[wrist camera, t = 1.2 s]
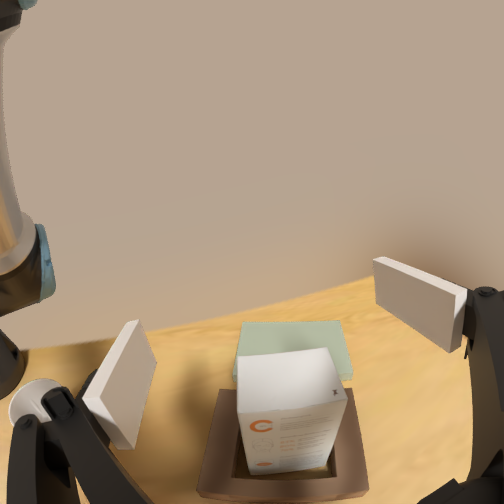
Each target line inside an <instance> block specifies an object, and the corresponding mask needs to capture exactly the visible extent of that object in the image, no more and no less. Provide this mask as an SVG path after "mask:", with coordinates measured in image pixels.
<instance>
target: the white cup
mask: <svg viewBox="0 0 504 504" xmlns="http://www.w3.org/2000/svg"><path fill="white" fill-rule="evenodd" d="M56 387H61V385H60V384H59V383H58V382H56V381H54V380H51V379H36V380H33V381H30V382H28V383H26V384H25V385H23V386H22V387H21V388H20V389H19V390H18V391H17V392H16V393H15V394H14V396H13V398H12V400H11V402H10V405H9V418H10V421H11V423H12V425H13V426H14V425H15V423H16V421H17V420H18V419H19V418H21V416H23V415H26V414H35V415H36V416H37V418H38V419H39V420H40V422H41V423H43V422H48V421H52V420H51V418H50V417H49V415H48V414H47V412H46V411H45V409H44V408H43V406H42V405H41V398H42V397H43V395H44V394H45V393H46V392H48V391H49V390H51V389H53V388H56Z"/></svg>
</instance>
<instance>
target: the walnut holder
mask: <svg viewBox="0 0 504 504" xmlns="http://www.w3.org/2000/svg"><path fill="white" fill-rule="evenodd" d="M344 390H345V393H346V395H347V397H348V401H347V404H346V407H345V411H344V414H343V417H342V420H341V423H340V426H339V429H338V432H337V435H336V438H335V441H334V444H333V447H332V449H331V452H330V456H331V469H332V478H322V479H307V480H255V479H239V478H235V472H236V466H237V459H238V452H239V445H240V438H241V428H240V423H239V419H238V414H237V390H226V389H220V390H219V394H218V398H217V403H216V407H215V411H214V416H213V420H212V424H211V429H210V433H209V437H208V442H207V446H206V450H205V455H204V459H203V463H202V468H201V472H200V476H199V481H198V485H197V489H196V491H197V492H198V493H199V494H200V496H201V497H205V498H211V499H219V500H228V501H238V502H252V503H309V502H323V501H333V500H342V499H349V498H356V497H362V496H363V495H364V494H365V493H366V492H367V491H368V490H369V483H368V476H367V469H366V462H365V456H364V450H363V444H362V438H361V433H360V427H359V422H358V416H357V411H356V406H355V401H354V396H353V392H352V388H345V389H344Z"/></svg>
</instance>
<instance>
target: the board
mask: <svg viewBox="0 0 504 504" xmlns="http://www.w3.org/2000/svg"><path fill="white" fill-rule="evenodd" d="M322 347H327V348H328V350H329V353H330V355H331V358H332V360H333V363H334V365H335V368H336V370H337V373H338V375H339V378H340V380H341V381H344V380H352V376H353V369H352V365H351V361H350V357H349V353H348V349H347V345H346V342H345V338H344V334H343V330H342V327H341V323H340V320H337V321H308V322H243V323H242V329H241V334H240V339H239V344H238V349H237V354H236V359H235V364H234V370H233V381H234V382H237V357H238V356H250V355H262V354H273V353H283V352H292V351H300V350H308V349H315V348H322Z"/></svg>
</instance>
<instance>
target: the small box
mask: <svg viewBox="0 0 504 504" xmlns="http://www.w3.org/2000/svg"><path fill="white" fill-rule="evenodd" d="M347 401H348V397H347V395H346V393H345V390H344V388H343V385H342V383H341V380H340V378H339V375H338V373H337V370H336V368H335V365H334V363H333V360H332V358H331V355H330V353H329V350H328V348H327V347H322V348H315V349H308V350H300V351H292V352H283V353H273V354H262V355H250V356H238V357H237V414H238V419H239V423H240V428H241V434H242V439H243V444H244V449H245V454H246V459H247V464H248V468H249V473H250V475H265V474H276V473H284V472H292V471H299V470H305V469H311V468H317V467H322V466H325V465H326V462H327V460H328V457H329V454H330V452H331V449H332V447H333V444H334V441H335V438H336V435H337V432H338V429H339V426H340V423H341V420H342V417H343V414H344V411H345V407H346V404H347Z"/></svg>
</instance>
